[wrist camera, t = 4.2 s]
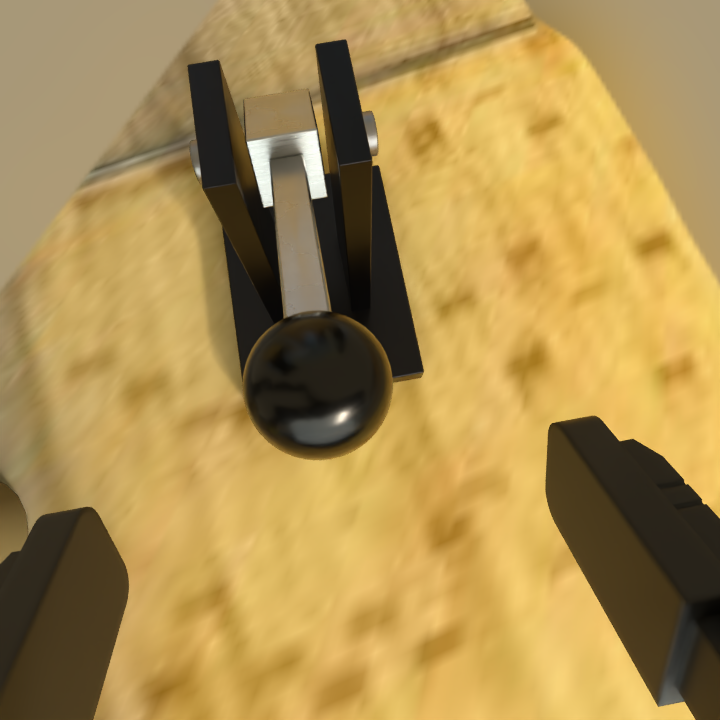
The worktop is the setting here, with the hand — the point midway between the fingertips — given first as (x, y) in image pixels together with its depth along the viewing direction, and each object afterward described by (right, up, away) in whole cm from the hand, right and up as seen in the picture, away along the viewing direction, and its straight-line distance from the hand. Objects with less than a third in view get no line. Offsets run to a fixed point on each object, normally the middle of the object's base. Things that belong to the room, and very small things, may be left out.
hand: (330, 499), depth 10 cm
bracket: (-2, +6, +20) cm, 21 cm away
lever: (-1, +5, +6) cm, 8 cm away
